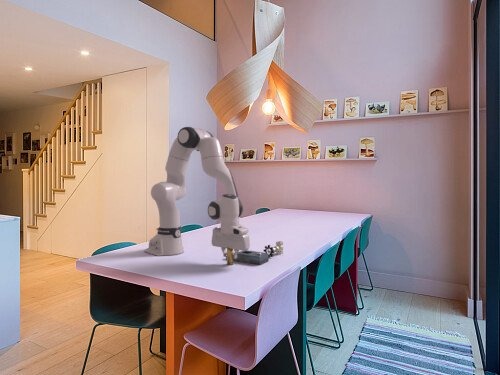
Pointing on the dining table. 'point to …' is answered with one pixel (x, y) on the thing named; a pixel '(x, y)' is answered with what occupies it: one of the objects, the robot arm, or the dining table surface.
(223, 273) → the dining table surface
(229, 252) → the brass pin
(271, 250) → the valve
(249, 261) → the gray block with recess
